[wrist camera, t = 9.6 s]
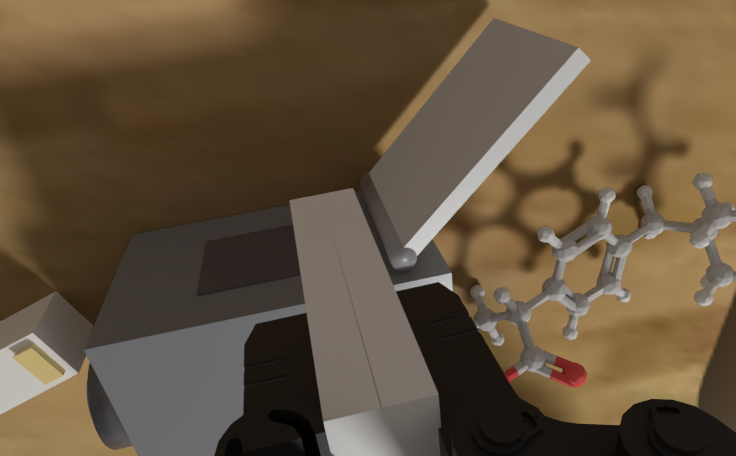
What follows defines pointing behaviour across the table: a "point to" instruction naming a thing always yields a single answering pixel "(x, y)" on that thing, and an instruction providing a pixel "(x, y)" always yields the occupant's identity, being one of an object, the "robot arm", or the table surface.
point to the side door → (464, 133)
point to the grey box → (200, 325)
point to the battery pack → (40, 349)
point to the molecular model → (603, 275)
